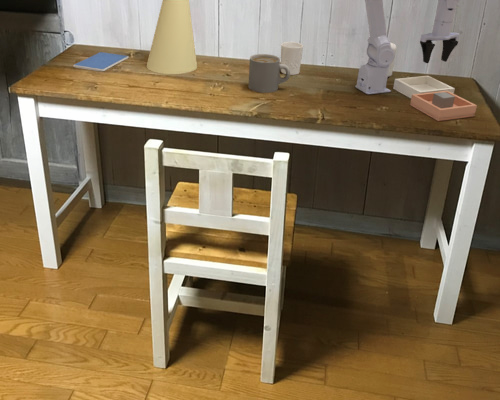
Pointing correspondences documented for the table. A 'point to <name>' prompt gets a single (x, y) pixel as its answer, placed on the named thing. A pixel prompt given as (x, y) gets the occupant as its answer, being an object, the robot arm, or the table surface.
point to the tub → (420, 85)
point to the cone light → (173, 40)
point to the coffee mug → (266, 73)
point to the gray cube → (443, 100)
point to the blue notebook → (100, 61)
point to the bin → (457, 111)
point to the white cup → (291, 56)
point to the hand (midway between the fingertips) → (434, 61)
